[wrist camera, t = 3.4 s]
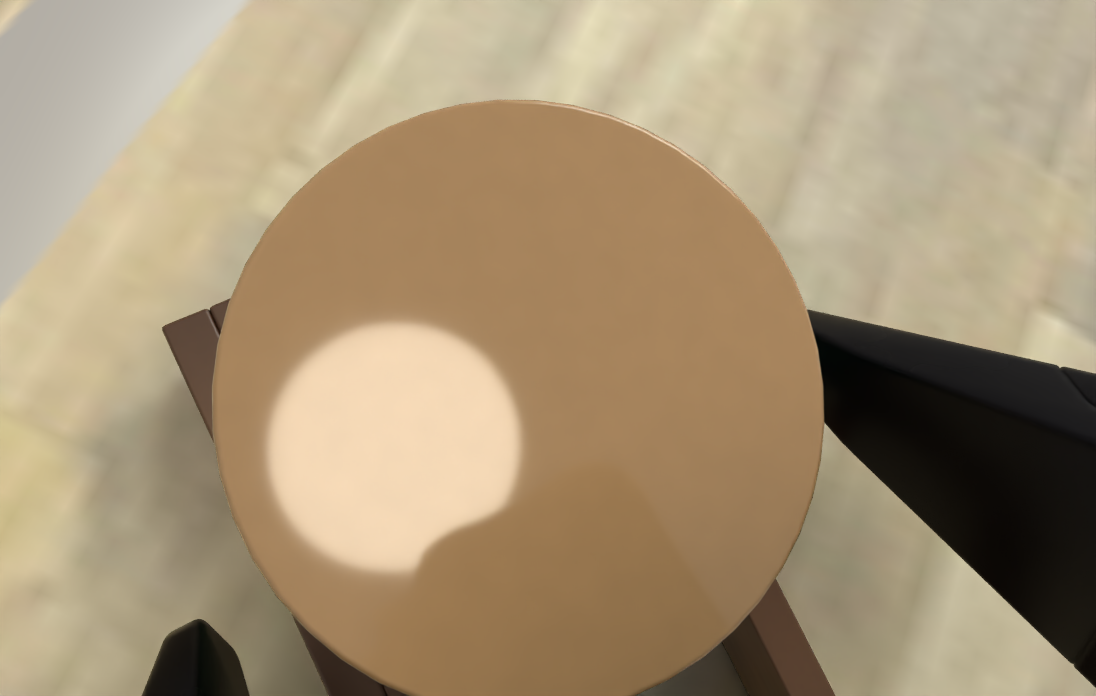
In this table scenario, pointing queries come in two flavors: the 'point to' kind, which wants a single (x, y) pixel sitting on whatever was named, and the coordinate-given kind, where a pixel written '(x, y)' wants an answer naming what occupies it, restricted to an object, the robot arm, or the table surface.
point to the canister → (517, 405)
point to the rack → (754, 647)
